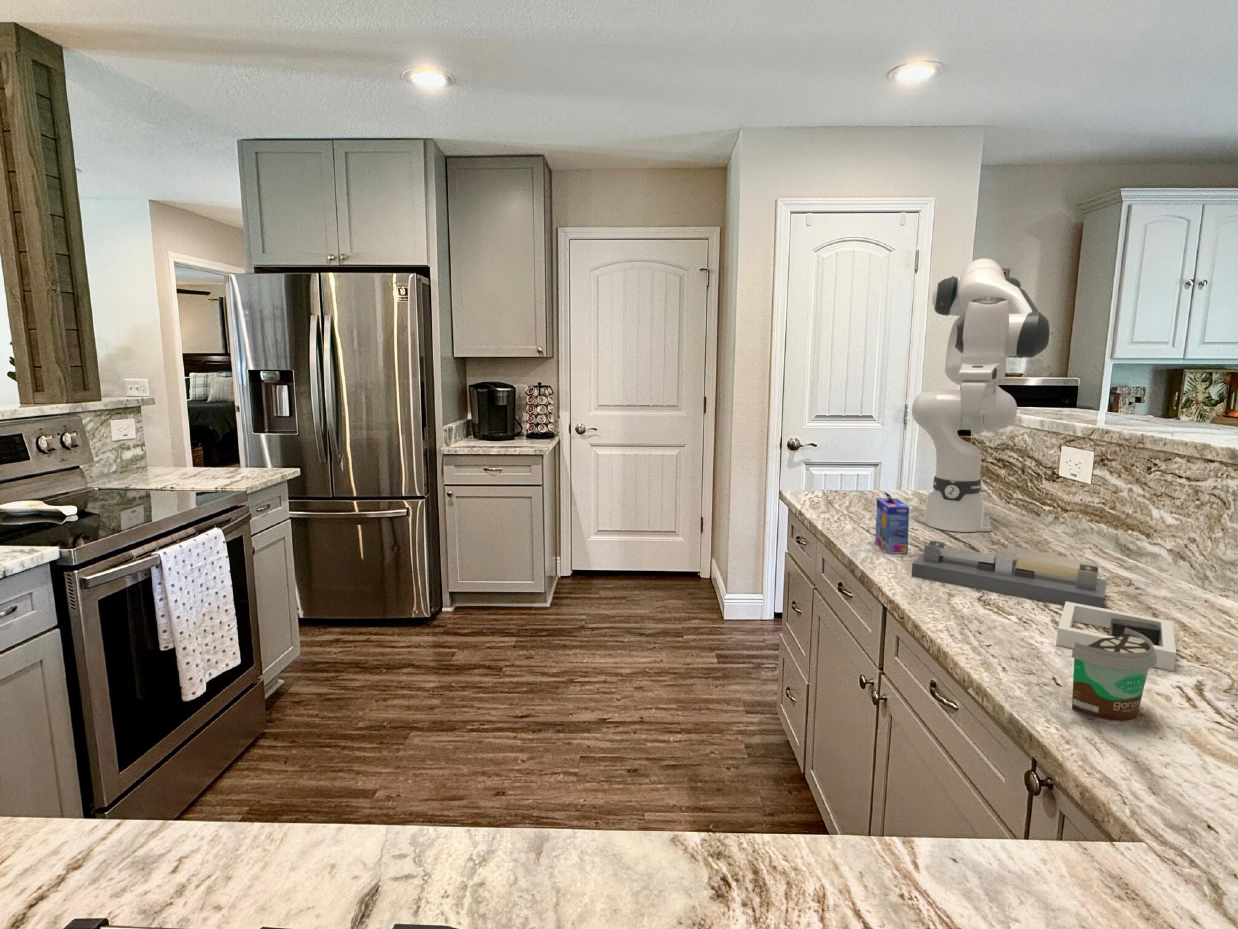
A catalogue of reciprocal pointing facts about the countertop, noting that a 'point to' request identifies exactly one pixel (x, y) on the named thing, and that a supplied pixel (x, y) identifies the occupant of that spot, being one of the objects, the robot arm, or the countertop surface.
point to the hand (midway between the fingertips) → (977, 433)
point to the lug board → (1011, 578)
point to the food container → (1112, 675)
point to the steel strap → (967, 555)
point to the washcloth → (1045, 558)
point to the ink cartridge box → (892, 525)
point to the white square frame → (1103, 619)
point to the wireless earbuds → (1135, 629)
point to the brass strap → (1048, 568)
